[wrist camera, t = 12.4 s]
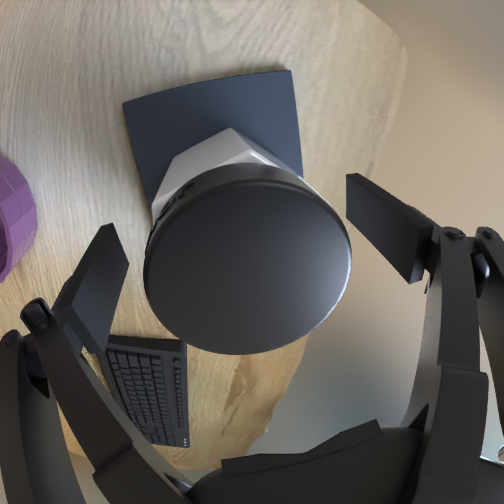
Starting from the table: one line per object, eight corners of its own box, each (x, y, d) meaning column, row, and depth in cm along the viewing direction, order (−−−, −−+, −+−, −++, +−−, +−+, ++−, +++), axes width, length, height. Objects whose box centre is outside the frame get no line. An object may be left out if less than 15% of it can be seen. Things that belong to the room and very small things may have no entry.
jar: (170, 127, 18) (127, 166, 7) (285, 131, 19) (378, 177, 9) (172, 241, 22) (157, 365, 12) (272, 240, 24) (324, 353, 13)
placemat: (123, 102, 16) (121, 103, 16) (288, 70, 17) (291, 70, 17) (176, 283, 25) (176, 287, 24) (306, 255, 26) (308, 259, 25)
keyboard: (91, 332, 26) (87, 346, 25) (186, 340, 29) (186, 354, 27) (132, 436, 41) (132, 445, 39) (189, 439, 43) (190, 448, 41)
